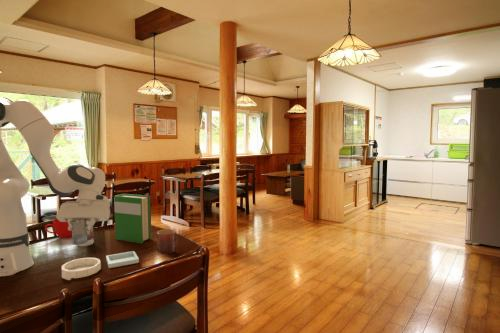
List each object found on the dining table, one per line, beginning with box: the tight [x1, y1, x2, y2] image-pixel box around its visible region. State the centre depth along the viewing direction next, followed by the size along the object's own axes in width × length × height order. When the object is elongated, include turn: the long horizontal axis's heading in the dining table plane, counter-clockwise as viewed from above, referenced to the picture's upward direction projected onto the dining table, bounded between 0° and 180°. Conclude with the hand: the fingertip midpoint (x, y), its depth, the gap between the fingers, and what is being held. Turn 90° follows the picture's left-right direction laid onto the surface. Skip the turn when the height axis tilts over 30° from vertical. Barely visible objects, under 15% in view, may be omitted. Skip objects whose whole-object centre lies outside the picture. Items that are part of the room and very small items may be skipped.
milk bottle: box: [77, 221, 95, 247], centre depth 163 cm, size 8×8×20 cm
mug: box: [156, 228, 176, 255], centre depth 153 cm, size 12×9×10 cm
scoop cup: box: [72, 219, 87, 246], centre depth 128 cm, size 5×5×10 cm
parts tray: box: [105, 250, 140, 269], centre depth 139 cm, size 12×11×2 cm
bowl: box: [61, 257, 102, 281], centre depth 129 cm, size 14×14×4 cm
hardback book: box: [113, 193, 152, 244], centre depth 171 cm, size 18×7×24 cm, turn 69°
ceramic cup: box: [44, 218, 73, 240], centre depth 174 cm, size 13×17×10 cm
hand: (78, 229), depth 127 cm, fingers closed on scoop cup, 5 cm apart
